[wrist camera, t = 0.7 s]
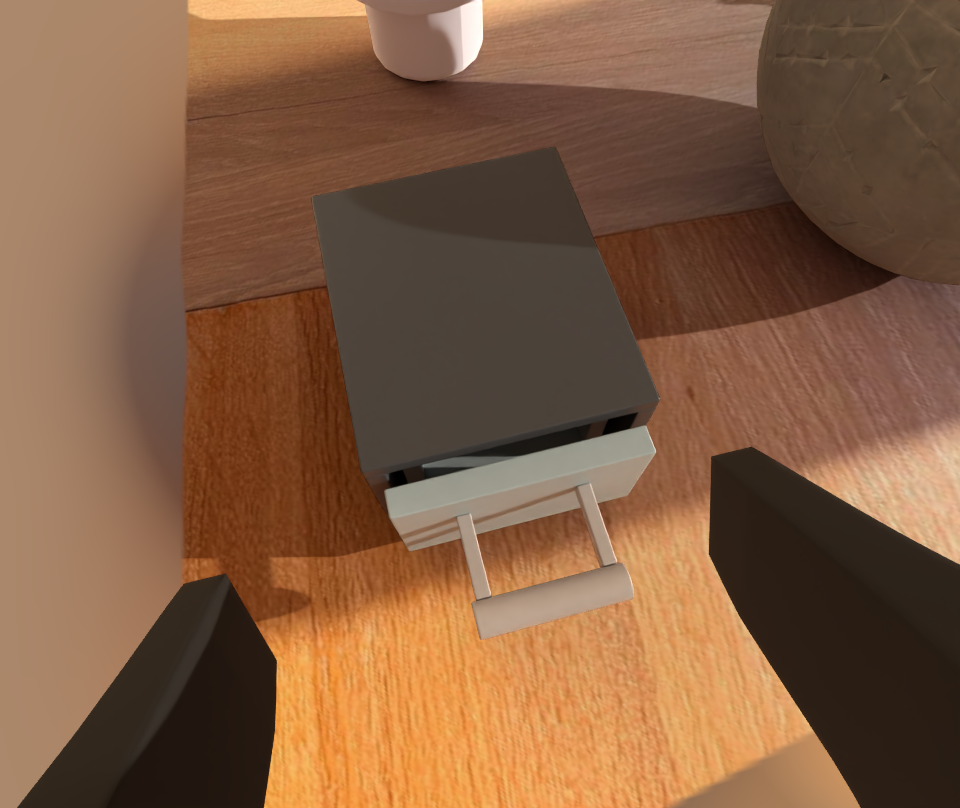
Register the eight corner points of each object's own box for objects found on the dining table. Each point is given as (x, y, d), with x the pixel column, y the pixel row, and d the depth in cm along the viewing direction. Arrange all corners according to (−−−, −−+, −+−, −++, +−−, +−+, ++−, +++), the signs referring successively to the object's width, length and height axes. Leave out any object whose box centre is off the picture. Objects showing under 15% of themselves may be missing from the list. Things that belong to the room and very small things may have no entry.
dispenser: (624, 465, 31) (661, 399, 24) (391, 524, 30) (360, 472, 23) (544, 249, 36) (555, 145, 30) (346, 292, 36) (310, 196, 29)
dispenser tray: (665, 597, 27) (705, 573, 22) (431, 661, 27) (415, 652, 21) (549, 281, 34) (559, 206, 29) (362, 322, 34) (337, 253, 28)
